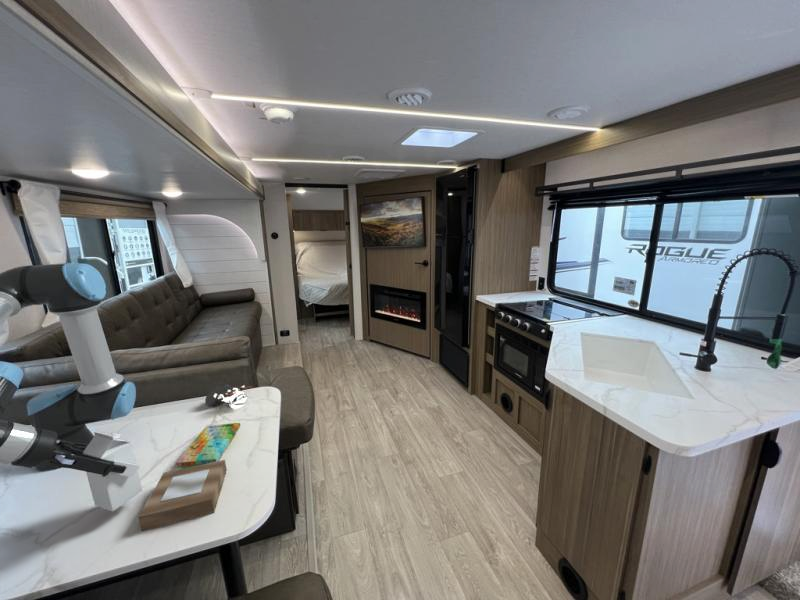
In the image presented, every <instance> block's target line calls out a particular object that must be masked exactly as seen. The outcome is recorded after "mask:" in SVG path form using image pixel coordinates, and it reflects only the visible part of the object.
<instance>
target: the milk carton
mask: <svg viewBox="0 0 800 600" xmlns="http://www.w3.org/2000/svg"><path fill="white" fill-rule="evenodd" d="M93 433H94V434H93V435H94V438H93V439H92V440H91V442H90V443H89V444H88V446H87V447H86V449H85V450H84V451H83V453H84V454H88V455H91V456H95V457H98V458H101V459H105V460H109V461H113V460H115V461H120V462H126V463H131V464H137V462H136V457H135V453H134V448H133V444H132V442H131V441H127V440H125V439H121V437H122V434H120V433H115V432H112V433H110V434H106V433H103V432H99V431H94V432H93ZM138 470H139V469H138ZM138 470H137V472H136V473H135V475H134V476H133V477H130V476H123V475H117V474H111V473H109V474H108V475H107V476H105V477H102V475H100V474H95V473H90V472H85V473H86V476H87V481H88V484H89V488H90V492H91V494H92V499H93V502H94V506H97V507H99V508H101V509H104V510H107V511H110V512H114V511H115V510H118V508H120V507H122V506H124V504H125V503H127V502H128V501H130V500H131V499H132V498H135V497H136V496H137V495H138V494H140V493H141V492H143V487H142V483H141V479H140V478H141V477H140V474H139V471H138Z"/></svg>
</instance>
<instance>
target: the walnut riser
mask: <svg viewBox="0 0 800 600" xmlns="http://www.w3.org/2000/svg"><path fill="white" fill-rule="evenodd" d="M226 471H228V469H227V464H226V459H222V460H221V459H220V460H219V461H217V462H212V463H207V464H202V465H198V466H193V467H188V468H184V469H180V468H178V469H175V470H174V469H173V470H170V471H166V472H163V473H162V475H161V477H160V479H159V481H158V482H157V484H156V486H155V488H154V489H153V491H152V493H151V494H150V496H149V498H148V499H147V501H146V503H145V504H144V506H143V508H142V510H141V512H140V514H139V515H138V516H137V517H138V522H139V526H140V531H142V532H143V531H147V530H151V529H154V528H158V527H162V526H167V525H171V524H175V523H178V522H182V521H186V520H190V519H194V518H197V517H202V516H207V515H211V514H214V513H215V511H216V508H217V504H218V502H219V499H220V495H221V492H222V490H223V489H222V488H223V485H224V482H225V479H224V478H226V476H227V473H226ZM225 475H226V476H225Z"/></svg>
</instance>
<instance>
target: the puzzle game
mask: <svg viewBox="0 0 800 600" xmlns="http://www.w3.org/2000/svg"><path fill="white" fill-rule="evenodd" d="M240 428H241V422H234V423H233V422H232V423H223V424H221V423H220V424H213V425H206V426H205V427H204V429H203V430H202V431H201V432H200V433H199V434H198V436H197V437H195V439H194V440H193V441H192V443H191V444H189V446H188V447H187V448H186V449H185V451H183V453H182V454H181V455H180V456H179V457H178V458H177V460H176V461H175V467H176V468H178V469H184V468H188V467H193V466H198V465H202V464H207V463H212V462H217V461H221V458H222V456H223V455H224V454H225V452H226V451H227V449H228V447H229V446H230V445H231V442H233V440H234V438H235V436H236V435H237V432H238V430H239V429H240ZM225 450H226V451H225ZM223 453H224V454H223Z"/></svg>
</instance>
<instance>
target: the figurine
mask: <svg viewBox="0 0 800 600" xmlns="http://www.w3.org/2000/svg"><path fill="white" fill-rule="evenodd" d="M251 388H253V385H248V386H247V385H242V386H240V387H239V386H238V387H233V386H232V385H230V384H228V383H225V384H224V385H219V386H216V387H214V388H212V389H211V390H210V391H209V392H208V393H207V395H206V396H205V400H204V402H205V405H206V406H207V407H210V408H211V407H217V406H219V405H220V404H223V403H224V404H228V405H227V407H228V409H234V410H238V409H241V408H242V407H244V405H246V403H247V401H248V396H247V394H246V393H245V392H244V391H243V390H249V389H251Z"/></svg>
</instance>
